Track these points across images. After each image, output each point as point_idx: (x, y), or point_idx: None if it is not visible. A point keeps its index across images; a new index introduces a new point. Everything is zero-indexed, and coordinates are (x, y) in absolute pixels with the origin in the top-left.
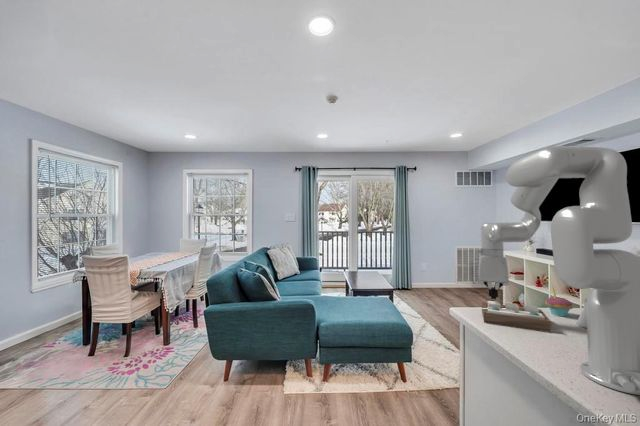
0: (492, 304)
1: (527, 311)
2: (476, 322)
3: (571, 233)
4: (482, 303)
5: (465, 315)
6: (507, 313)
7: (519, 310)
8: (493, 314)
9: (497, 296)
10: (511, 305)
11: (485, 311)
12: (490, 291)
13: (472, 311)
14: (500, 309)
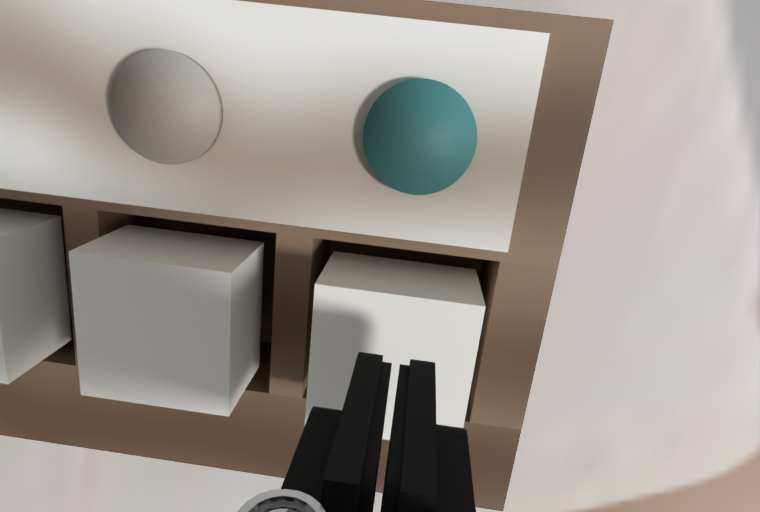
0: (427, 292)
1: (11, 225)
2: (662, 15)
3: None
4: (503, 478)
5: (720, 256)
6: (276, 6)
7: None
8: (474, 6)
9: (319, 408)
10: (162, 288)
11: (572, 78)
12: (444, 488)
13: (588, 425)
14: (342, 164)
